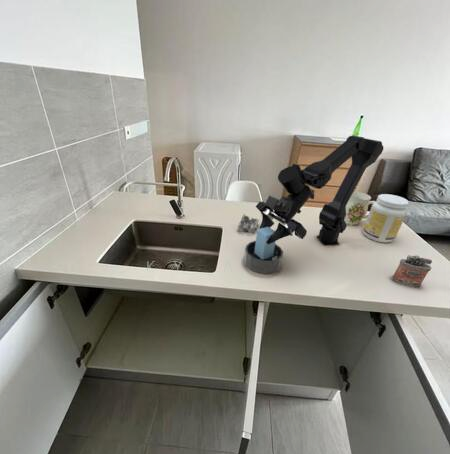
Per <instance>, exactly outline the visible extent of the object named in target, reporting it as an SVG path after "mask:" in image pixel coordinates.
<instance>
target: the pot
mask: <svg viewBox="0 0 450 454" xmlns="http://www.w3.org/2000/svg"><path fill="white" fill-rule="evenodd" d="M255 244H256V240H252V241H250V242H248V243H247V244H246V245H245V248H244V256H243V262H244V265H245V267H246V268H247V269H248V270H250V271H251V272H253V273H255V274H258V275H272V274H275V273H278V271H279V270H280V269H281V266H282V261H283V258H284V251H283V249H282V247H281V246H279V245H278V244H277V243H275V247H274V253H273V256H272V257H269V258H266V259H263V260H262V259H261V258H260V257H259V256H258V255H256V254H255V253H254V252H255Z"/></svg>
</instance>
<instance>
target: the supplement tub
mask: <svg viewBox="0 0 450 454" xmlns="http://www.w3.org/2000/svg"><path fill="white" fill-rule="evenodd" d="M409 203H410V202H409V200H408V199H406V198H404V197H402V196H399V195H395V194H390V193H389V194H388V193H380V194H379V195H378V196H377V198H376V200H375V202H374V203H373V204H371V207H370V210H369V213H368V214H369V215H368V214H367V215H368V218H366V220H365V223H364V226H363V228H362V233H363V234H364V236H365V237H367V238H368V239H370V240H371V241H375V242H378V243H391V242H393V241H395V239H396V238H397V235H398V233H399V231H400V228H401V227H402V224H403V222H404V221H405V218H406V216H407V214H408V209H407V208H408V206H409Z"/></svg>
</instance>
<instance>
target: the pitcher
mask: <svg viewBox="0 0 450 454" xmlns="http://www.w3.org/2000/svg"><path fill="white" fill-rule="evenodd" d="M371 199H372V197H371V195H369V194H367V193H365V192H361V191H358V190H357V191H356V190H354V192H353V194H352V195H351V197H350V199H349V201H348V203H347V205H346V216H345V219H344V221H345V223H346V225H349V226H355V225H357V224H359V223H361V221H363V220H364V219H367V218H368V215H369V213H368V209H369V206H370V205H373V203H374V202H376V200H371ZM367 213H368V214H367Z"/></svg>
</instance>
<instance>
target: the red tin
mask: <svg viewBox="0 0 450 454" xmlns="http://www.w3.org/2000/svg"><path fill="white" fill-rule="evenodd" d="M432 263H433V260H432V259H431V258H427V257H420V256H419V255H417V254H415V255H410V254H408V255H407V256H406V259H405V258H401V259H400V260H399V263H398V266H397V267H396V270H395V271H394V273H393V275H392V276H391V278H390V280H391V281H392V282H394V283H397V284H399V285H402V286H406V287H410V288H416V289H417V288H418V289H420V288H421V286H422V283H423V282H424V280H425V278H426V277H427V276H428V274H429V272H430V271H432V266H431V265H432Z"/></svg>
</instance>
